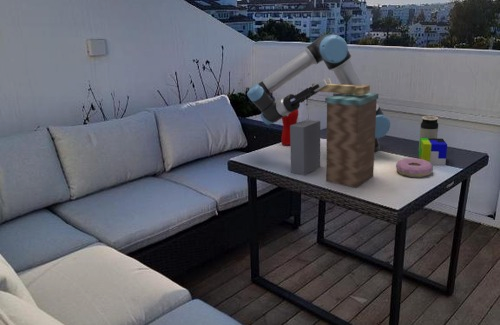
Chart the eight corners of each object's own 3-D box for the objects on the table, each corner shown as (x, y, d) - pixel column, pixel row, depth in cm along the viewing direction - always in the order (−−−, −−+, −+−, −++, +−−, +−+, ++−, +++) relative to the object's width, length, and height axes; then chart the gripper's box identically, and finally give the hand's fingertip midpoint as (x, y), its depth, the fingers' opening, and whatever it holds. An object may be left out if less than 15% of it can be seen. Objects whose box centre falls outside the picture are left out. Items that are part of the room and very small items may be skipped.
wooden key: (309, 91, 187) (309, 84, 186) (318, 89, 192) (318, 82, 191) (361, 95, 172) (362, 87, 171) (369, 92, 177) (369, 85, 176)
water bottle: (299, 141, 250) (299, 97, 242) (297, 146, 240) (296, 101, 232) (283, 140, 252) (282, 97, 244) (280, 146, 242) (279, 101, 234)
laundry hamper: (324, 181, 188) (325, 95, 177) (343, 170, 201) (345, 88, 189) (356, 188, 179) (359, 98, 167) (374, 176, 191) (378, 91, 180)
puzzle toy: (445, 165, 200) (447, 144, 197) (422, 165, 202) (423, 144, 199) (440, 158, 209) (442, 138, 206) (418, 158, 211) (420, 138, 208)
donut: (399, 165, 204) (400, 155, 202) (435, 169, 196) (436, 159, 195) (392, 176, 191) (392, 165, 189) (429, 181, 184) (430, 169, 182)
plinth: (291, 172, 201) (290, 125, 194) (307, 164, 211) (307, 119, 204) (303, 175, 197) (303, 127, 190) (320, 166, 207) (320, 120, 200)
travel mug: (427, 156, 213) (430, 120, 207) (415, 152, 220) (417, 117, 214) (439, 153, 216) (442, 118, 210) (427, 149, 223) (430, 115, 217)
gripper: (301, 109, 206) (340, 86, 189) (281, 115, 194) (321, 92, 178) (294, 94, 206) (333, 70, 190) (274, 100, 194) (313, 75, 178)
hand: (327, 81), depth 184 cm, fingers closed on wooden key, 3 cm apart
